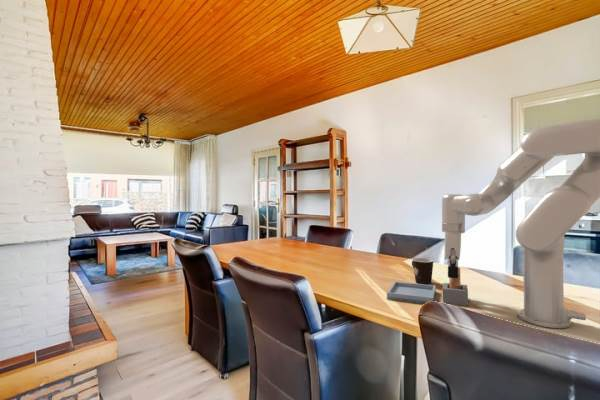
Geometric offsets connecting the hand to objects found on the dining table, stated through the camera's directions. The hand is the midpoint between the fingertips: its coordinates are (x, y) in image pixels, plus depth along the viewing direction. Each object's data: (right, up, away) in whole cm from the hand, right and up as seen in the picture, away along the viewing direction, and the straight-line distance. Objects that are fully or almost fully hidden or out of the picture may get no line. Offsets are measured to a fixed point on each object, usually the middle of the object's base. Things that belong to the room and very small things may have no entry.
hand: (452, 274), depth 113 cm
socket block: (+1, -10, 0) cm, 10 cm away
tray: (-13, -10, +6) cm, 17 cm away
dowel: (+1, -10, 0) cm, 10 cm away
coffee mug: (-1, -9, +24) cm, 26 cm away
